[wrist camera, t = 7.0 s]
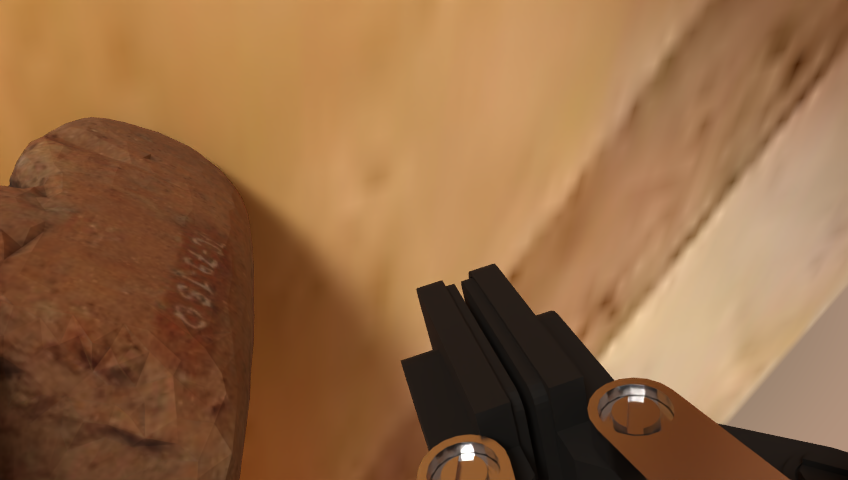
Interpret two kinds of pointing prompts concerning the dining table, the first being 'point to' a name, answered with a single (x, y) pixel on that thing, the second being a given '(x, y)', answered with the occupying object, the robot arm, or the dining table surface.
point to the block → (123, 310)
